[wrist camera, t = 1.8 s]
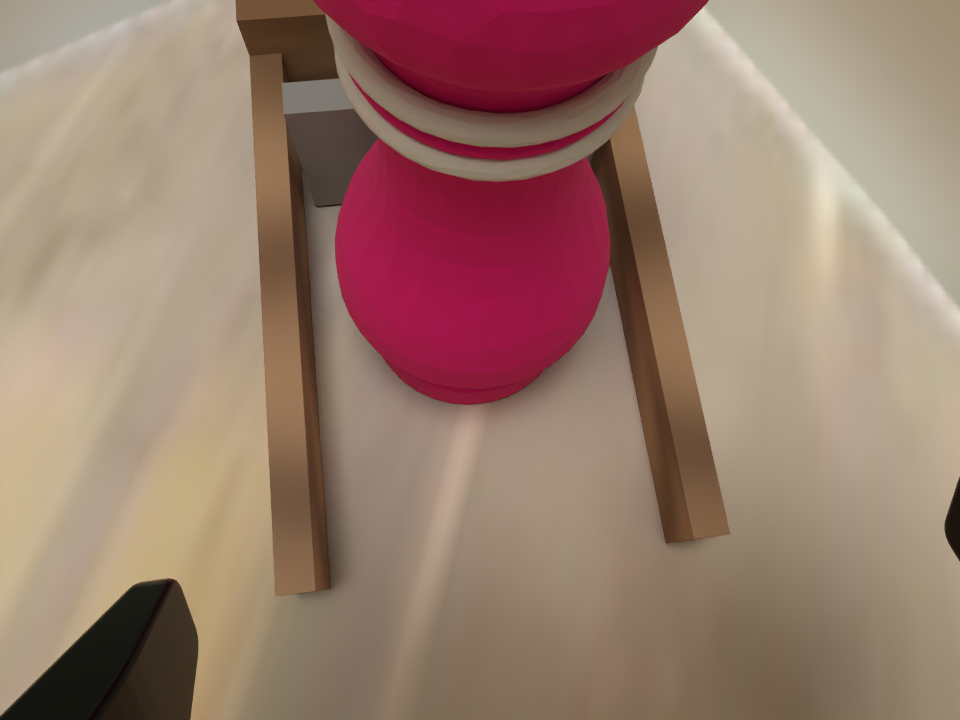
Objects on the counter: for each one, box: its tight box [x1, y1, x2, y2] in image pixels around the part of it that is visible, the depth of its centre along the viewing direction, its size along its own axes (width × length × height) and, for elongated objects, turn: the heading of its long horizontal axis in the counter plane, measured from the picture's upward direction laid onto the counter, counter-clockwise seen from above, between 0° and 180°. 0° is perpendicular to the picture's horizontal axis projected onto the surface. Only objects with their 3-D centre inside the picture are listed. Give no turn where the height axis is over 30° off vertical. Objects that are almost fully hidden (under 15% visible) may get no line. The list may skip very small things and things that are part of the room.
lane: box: [236, 0, 730, 596], centre depth 22 cm, size 18×12×4 cm
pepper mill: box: [313, 0, 709, 405], centre depth 14 cm, size 7×7×20 cm
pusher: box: [282, 79, 594, 206], centre depth 22 cm, size 1×9×5 cm, turn 97°
